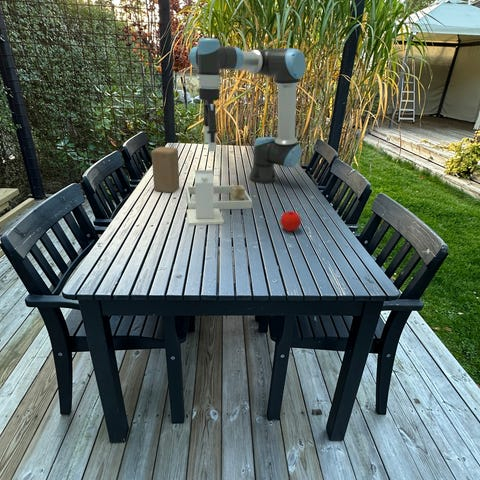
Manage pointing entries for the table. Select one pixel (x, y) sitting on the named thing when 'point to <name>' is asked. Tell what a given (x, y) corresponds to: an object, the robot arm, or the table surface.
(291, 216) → the apple
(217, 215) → the tile
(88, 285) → the table surface
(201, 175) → the milk carton
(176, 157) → the wooden block
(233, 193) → the oak block
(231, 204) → the rectangular frame
